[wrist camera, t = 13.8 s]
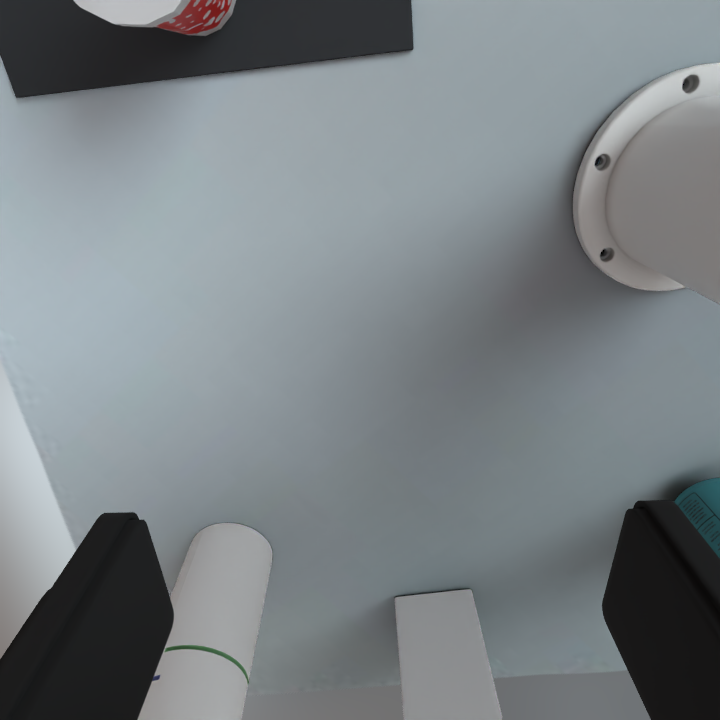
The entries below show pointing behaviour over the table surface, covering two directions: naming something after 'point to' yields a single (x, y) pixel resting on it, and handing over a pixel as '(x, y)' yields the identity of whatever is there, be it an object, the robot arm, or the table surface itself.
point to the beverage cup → (164, 14)
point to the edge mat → (188, 42)
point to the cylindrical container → (212, 627)
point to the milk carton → (444, 659)
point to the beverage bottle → (703, 510)
